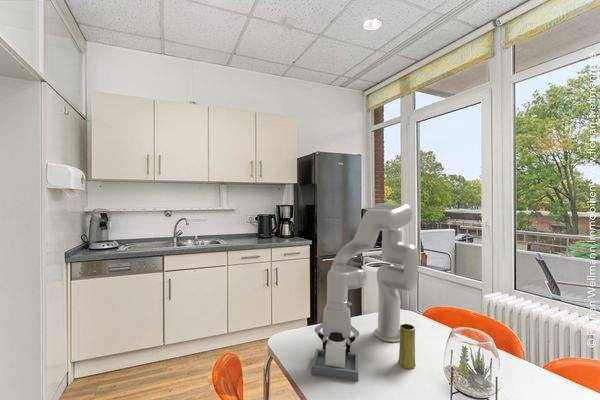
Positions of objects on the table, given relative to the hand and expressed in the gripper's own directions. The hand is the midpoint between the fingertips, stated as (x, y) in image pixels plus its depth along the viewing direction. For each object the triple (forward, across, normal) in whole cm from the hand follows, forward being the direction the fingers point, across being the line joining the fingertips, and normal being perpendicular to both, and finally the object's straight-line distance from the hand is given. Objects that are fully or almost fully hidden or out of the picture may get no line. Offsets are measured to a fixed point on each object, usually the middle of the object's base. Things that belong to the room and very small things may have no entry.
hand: (336, 352), depth 105 cm
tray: (+6, 0, 0) cm, 6 cm away
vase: (+6, -26, -8) cm, 28 cm away
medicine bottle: (+4, 0, 0) cm, 4 cm away
